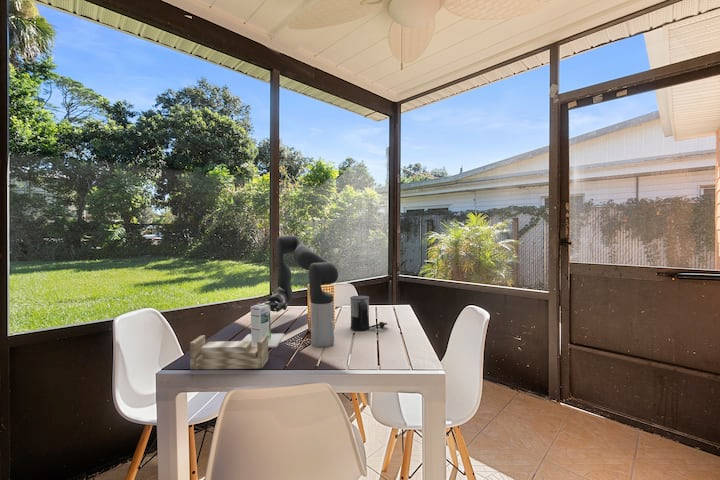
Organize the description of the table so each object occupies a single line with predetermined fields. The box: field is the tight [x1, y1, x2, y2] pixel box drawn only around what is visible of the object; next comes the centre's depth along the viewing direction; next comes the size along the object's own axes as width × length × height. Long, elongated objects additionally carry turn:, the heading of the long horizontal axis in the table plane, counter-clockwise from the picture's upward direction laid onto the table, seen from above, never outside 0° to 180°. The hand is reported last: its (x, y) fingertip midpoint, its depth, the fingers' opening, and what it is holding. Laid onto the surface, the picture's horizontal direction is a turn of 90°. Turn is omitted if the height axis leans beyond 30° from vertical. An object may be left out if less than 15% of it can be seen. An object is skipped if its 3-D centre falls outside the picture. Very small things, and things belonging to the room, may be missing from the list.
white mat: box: [241, 333, 285, 349], centre depth 140 cm, size 16×16×1 cm
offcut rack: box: [189, 334, 269, 370], centre depth 116 cm, size 24×8×9 cm, turn 91°
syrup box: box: [250, 303, 272, 342], centre depth 140 cm, size 6×6×14 cm
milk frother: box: [349, 295, 388, 332], centre depth 157 cm, size 14×16×15 cm
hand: (267, 309), depth 151 cm, fingers open, 8 cm apart
